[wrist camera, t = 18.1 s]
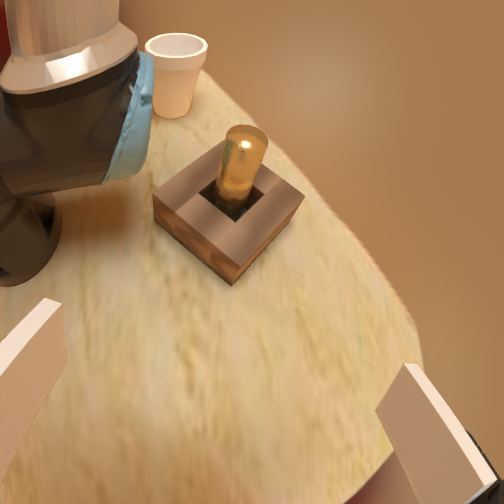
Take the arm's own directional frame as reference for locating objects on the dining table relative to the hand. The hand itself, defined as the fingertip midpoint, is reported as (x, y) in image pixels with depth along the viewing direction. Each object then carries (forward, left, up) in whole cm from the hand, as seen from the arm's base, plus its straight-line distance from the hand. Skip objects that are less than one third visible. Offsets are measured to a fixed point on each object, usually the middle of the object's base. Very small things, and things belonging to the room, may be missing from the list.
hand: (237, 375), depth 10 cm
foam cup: (-33, +29, -24) cm, 50 cm away
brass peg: (-11, +18, -23) cm, 31 cm away
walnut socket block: (-11, +18, -24) cm, 32 cm away
